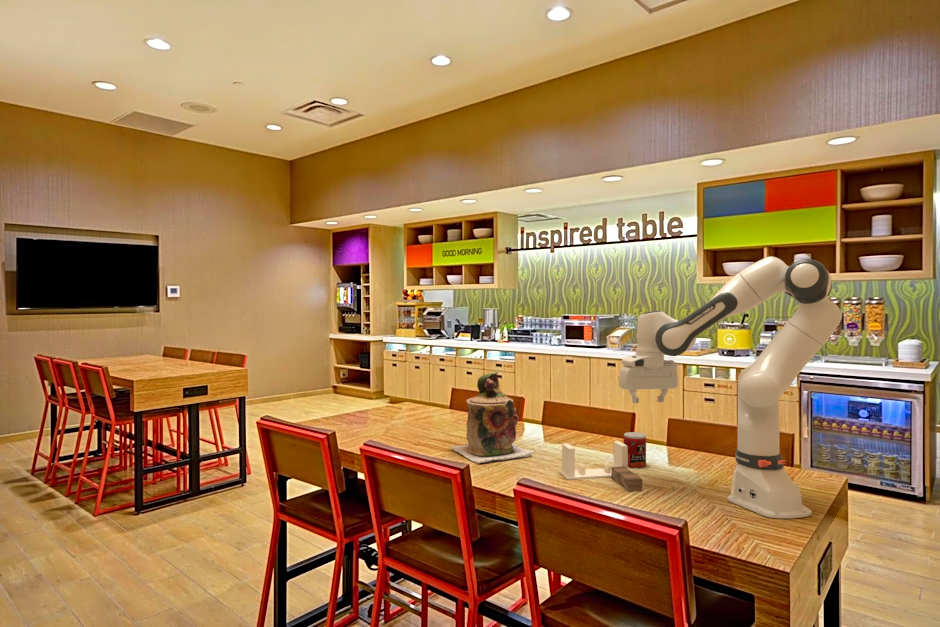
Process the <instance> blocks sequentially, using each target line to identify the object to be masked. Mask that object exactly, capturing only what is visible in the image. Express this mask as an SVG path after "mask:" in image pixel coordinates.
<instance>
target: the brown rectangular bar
mask: <svg viewBox="0 0 940 627" xmlns="http://www.w3.org/2000/svg"><path fill="white" fill-rule="evenodd" d="M610 478H611V480H613V481H614V482H615V481H616V483H617V484H618V485H621V487H622V488H623V489H624V490H625V489H626V490H625V491H626V492H627V493H633V492H632V491H636V492H643V479H642V477H640V476H639V475H637V474H636V473H634V472H633V471H631V470H630V469H629V468H628V469H627V468H626V467H624V466H623V467H614V466H611V477H610Z"/></svg>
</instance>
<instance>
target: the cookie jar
mask: <svg viewBox="0 0 940 627" xmlns="http://www.w3.org/2000/svg"><path fill="white" fill-rule="evenodd" d="M498 373H499V372H498V370H497V369H496V370H495V371H494V372H491V373H486V374H484V375H481V376H479V377H478V379H477V383H476V384H477V385H476V386H477V389H478V391H479V392H478V394H477V395H476V396H474V397H471V398H467V399H466V406H467V408H468V410H467V420H466V436H465V437H466V440H467V442H468V443H467V444H460V445H452V446H451V449H452V451H454V452H455V453H458V454H459V455H461V456H462V455H463V456H462V457H464V458H466V459H468V460H470V461H471V462H473V463H475V462H476V463H475V464H477V463H478V464H481V463H488V462H492V461H504V460H510V459H512V460H513V459H518V458H525V457H526V458H528V457H531V456H532V455H533V453H534V452H535V451H534V450H532V449H526V448H522V447H521V446H519V445H517V444H515V443H514V442H515V441H516V439H517V429H516V427H517V424H518V423H519V420H520V419H519V416H518V414H517V407H514V402H515V400H514V399H512V398H511V397H508V396H507V395H506V394H505V393H504V392H503V391H502V390H501V388H500V383H499V382H500V381H499V378H498Z"/></svg>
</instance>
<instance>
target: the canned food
mask: <svg viewBox="0 0 940 627" xmlns="http://www.w3.org/2000/svg"><path fill="white" fill-rule="evenodd" d="M623 444H625V445H627V446H628V468H633V469H642V468H645V467H646V465H647V434H645V433H642V432H637V431H629V432H625V433H624V434H623Z"/></svg>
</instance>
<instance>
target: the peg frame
mask: <svg viewBox="0 0 940 627" xmlns="http://www.w3.org/2000/svg"><path fill="white" fill-rule="evenodd" d="M561 444H562V446H561V452H562V453H561V454H562V458H561V459H562V460H561V463H562V465H561V466H562V467H561V468H562V470H559V474H560V475H562V477H564V478H565V479H566V480H584V479H587V480H588V479H602V478H603V479H604V478H605V479H606V478H611V467H612V464H611V462H610V463H609V461H603V468H586V465H585V464H584V463H583V462H578V469H575V468H576V463H575V461H576V460H575V459H576V458H575V456H576V449H575V447H573V445H571V444H570V443H566V442H565V443H561ZM623 466H624V467H626V468H627V469H629V467H628V446H627V445H625V444H624V442H621V441H619V440H616V441H615V440H614V441H613V467H623Z"/></svg>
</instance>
